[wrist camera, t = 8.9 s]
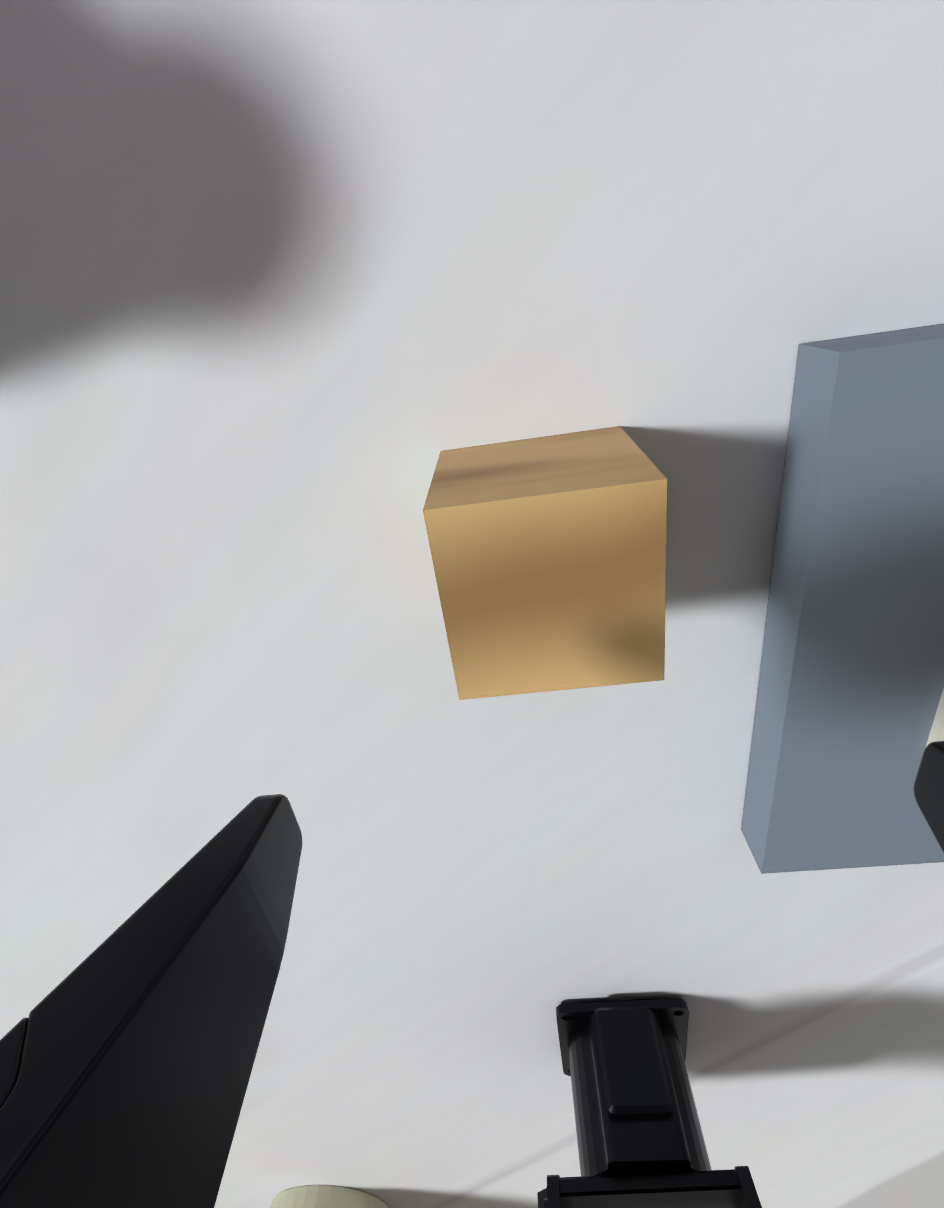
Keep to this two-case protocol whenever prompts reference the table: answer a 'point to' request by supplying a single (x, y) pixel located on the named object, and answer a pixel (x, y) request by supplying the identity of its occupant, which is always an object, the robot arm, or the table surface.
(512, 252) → the table surface
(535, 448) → the ochre block
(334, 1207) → the reusable coffee cup
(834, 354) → the board
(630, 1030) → the robot arm
